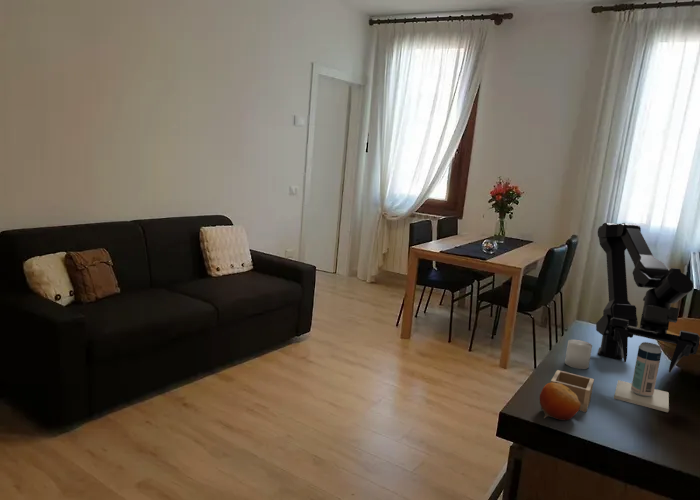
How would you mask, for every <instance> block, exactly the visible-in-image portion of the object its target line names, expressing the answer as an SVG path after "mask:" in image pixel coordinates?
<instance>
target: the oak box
mask: <svg viewBox="0 0 700 500" xmlns="http://www.w3.org/2000/svg"><path fill="white" fill-rule="evenodd" d="M594 381H595V379H594V378H591V377H589V376H583V375H579V374H575V373H572V372H571V373H570V372H568V371H563V370H561V369H560V370H559V369H557V370H556V371H555V373H554V375H553V376H552V378H551V379H550V383H551V382H553V383H561V384H563V385H564V386H566V387H568V388H569V389H570V390H571V391H572V392H574V393H575V394H576V395H577V397H578V400H579V401H580V403H581V406H580V408H579V411H580V412H584V413H587V412H588V408H589V406H590V402H591V400H592V394H593V387H594ZM579 411H578V412H579Z"/></svg>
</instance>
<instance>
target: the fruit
mask: <svg viewBox="0 0 700 500" xmlns="http://www.w3.org/2000/svg"><path fill="white" fill-rule="evenodd" d="M539 405H540V409H541V410H542V411H543V413H544V416H543V419H545V418H547V417H551V418H554V419H557V420H559V421H560V420H562V421H569V420H571V419H572V418H573V417H574V416H575V415H576V414H577V413H578V412H579V408H580V406H581V403H580V401H579V400H578V397H577V395H576V394H575V393H574V392H572V391H571V390H570V389H569V388H568V387H566V386H564V385H563V384H561V383H553V382H551V381H550V382H548V383H546V384H545V385H544V386H543V388H542V390H541V391H540V394H539Z"/></svg>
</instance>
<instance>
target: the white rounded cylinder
mask: <svg viewBox="0 0 700 500" xmlns="http://www.w3.org/2000/svg"><path fill="white" fill-rule="evenodd" d="M592 348H593V345H592V343H590V342H587V341H584V340H582V339H581V340H578V339H568V341H567V347H566V351H565V352H566V353H565V359H564V364H566V366H568V367H570V368H573V369H578V370H579V369H580V370H587V369H589V367H590V363H591V362H590V361H591V355H592V350H593V349H592Z"/></svg>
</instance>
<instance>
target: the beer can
mask: <svg viewBox="0 0 700 500" xmlns="http://www.w3.org/2000/svg"><path fill="white" fill-rule="evenodd" d="M661 357H662V349H661V345H658V344H656V343H652V342H646V341H643V342H641V343H640V345H639V346H638V350H637V355H636V359H635V365H634V371H633V377H632V382H631V383H632V386H631V390H632V391H633V392H634V393H635V394H637V395H640V396H644V397H649V396H652V395H653V394H654V389H656V388H655V387H656V382H657V377H658V373H659V367H660V362H661Z"/></svg>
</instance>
